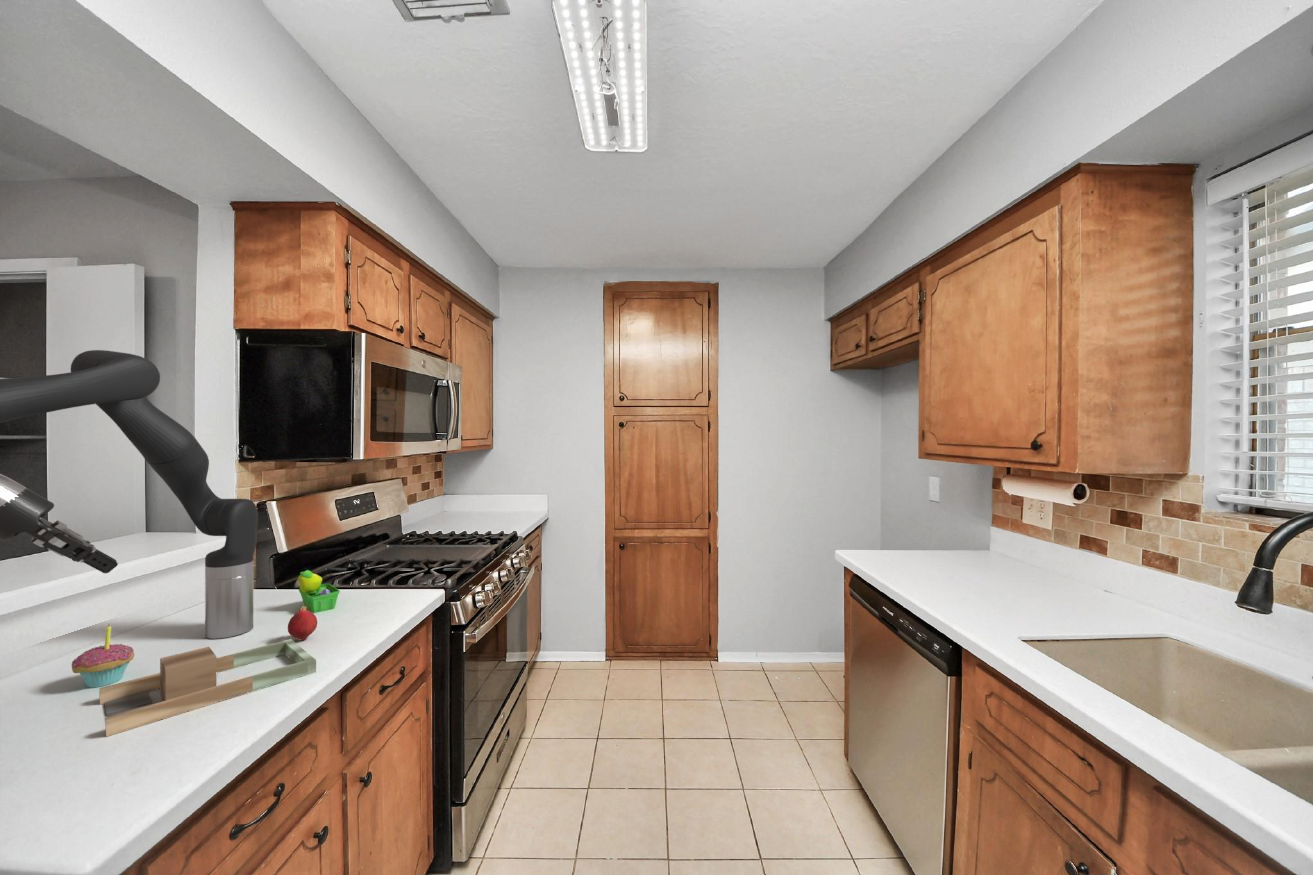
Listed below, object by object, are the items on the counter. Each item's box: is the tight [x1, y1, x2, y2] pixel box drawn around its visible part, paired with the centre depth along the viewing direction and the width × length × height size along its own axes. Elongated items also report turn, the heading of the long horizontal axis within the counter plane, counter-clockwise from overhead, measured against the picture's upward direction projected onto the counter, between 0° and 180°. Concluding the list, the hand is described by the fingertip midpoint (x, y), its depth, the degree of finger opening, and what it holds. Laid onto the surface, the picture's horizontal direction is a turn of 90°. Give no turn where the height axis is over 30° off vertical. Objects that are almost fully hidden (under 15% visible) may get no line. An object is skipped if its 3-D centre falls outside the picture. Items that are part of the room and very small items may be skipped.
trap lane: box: [99, 638, 317, 737], centre depth 99 cm, size 17×30×2 cm, turn 140°
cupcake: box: [71, 622, 135, 688], centre depth 101 cm, size 9×8×12 cm
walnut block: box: [159, 646, 217, 702], centre depth 96 cm, size 7×7×7 cm
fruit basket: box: [297, 569, 341, 614], centre depth 144 cm, size 11×9×11 cm
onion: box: [287, 605, 318, 641], centre depth 121 cm, size 6×6×8 cm
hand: (111, 567), depth 89 cm, fingers closed
